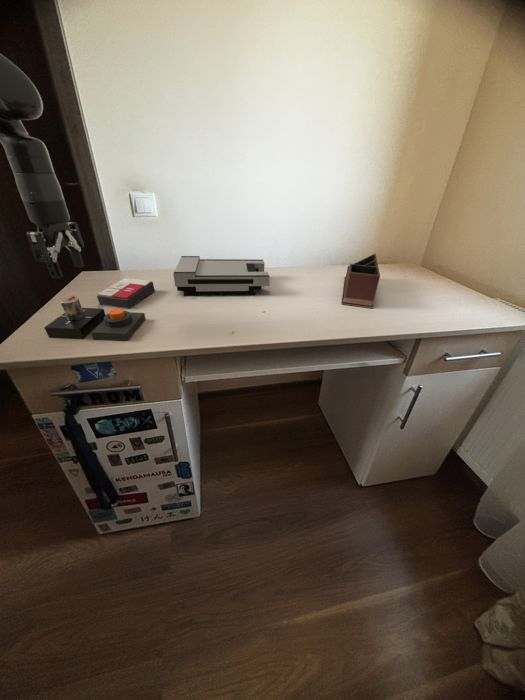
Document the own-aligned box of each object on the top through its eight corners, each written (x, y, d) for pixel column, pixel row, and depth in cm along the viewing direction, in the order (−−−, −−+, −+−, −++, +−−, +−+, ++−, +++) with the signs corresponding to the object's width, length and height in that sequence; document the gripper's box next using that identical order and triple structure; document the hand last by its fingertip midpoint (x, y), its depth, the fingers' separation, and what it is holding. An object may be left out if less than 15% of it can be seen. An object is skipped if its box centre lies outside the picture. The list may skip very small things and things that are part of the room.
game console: (268, 295, 100) (269, 273, 96) (176, 296, 97) (173, 273, 92) (262, 276, 117) (263, 256, 113) (184, 276, 114) (181, 256, 109)
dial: (78, 320, 74) (72, 302, 71) (63, 320, 74) (56, 301, 71) (87, 314, 77) (81, 296, 74) (72, 313, 77) (66, 295, 74)
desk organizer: (341, 304, 96) (347, 272, 90) (344, 277, 120) (349, 250, 113) (373, 309, 94) (382, 276, 88) (370, 280, 117) (376, 253, 111)
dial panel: (83, 339, 72) (79, 328, 70) (48, 337, 72) (43, 326, 70) (106, 317, 82) (103, 308, 80) (75, 316, 82) (72, 306, 80)
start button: (121, 320, 74) (119, 314, 73) (107, 320, 74) (106, 314, 73) (127, 314, 77) (125, 308, 76) (114, 314, 77) (112, 308, 76)
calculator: (95, 293, 87) (124, 276, 99) (99, 306, 90) (127, 287, 102) (126, 297, 86) (152, 279, 97) (130, 310, 88) (155, 290, 100)
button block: (128, 341, 72) (124, 327, 70) (93, 339, 72) (88, 325, 70) (145, 319, 82) (142, 307, 80) (115, 318, 82) (111, 305, 80)
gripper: (48, 194, 66) (71, 263, 75) (-2, 200, 54) (33, 281, 63) (79, 195, 66) (99, 264, 75) (36, 201, 54) (66, 283, 63)
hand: (69, 272), depth 69 cm, fingers open, 8 cm apart
